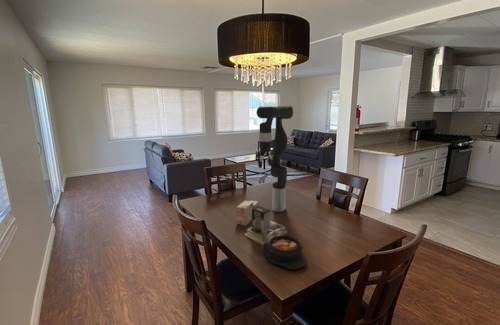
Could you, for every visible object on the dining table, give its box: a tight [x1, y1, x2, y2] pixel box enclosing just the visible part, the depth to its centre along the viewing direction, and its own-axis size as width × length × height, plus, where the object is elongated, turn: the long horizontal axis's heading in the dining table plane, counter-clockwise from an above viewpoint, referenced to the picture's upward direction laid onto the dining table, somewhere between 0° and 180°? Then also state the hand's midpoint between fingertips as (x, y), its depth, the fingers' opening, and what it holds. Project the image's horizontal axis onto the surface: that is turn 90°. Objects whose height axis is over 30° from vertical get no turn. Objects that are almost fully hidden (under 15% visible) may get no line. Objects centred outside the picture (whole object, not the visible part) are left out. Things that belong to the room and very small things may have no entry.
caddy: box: [244, 219, 288, 246], centre depth 150 cm, size 20×15×5 cm
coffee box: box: [251, 205, 271, 236], centre depth 146 cm, size 9×6×16 cm
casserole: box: [263, 234, 308, 270], centre depth 126 cm, size 25×19×8 cm
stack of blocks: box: [236, 200, 259, 227], centre depth 171 cm, size 21×6×12 cm, turn 155°
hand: (265, 166), depth 156 cm, fingers open, 8 cm apart
